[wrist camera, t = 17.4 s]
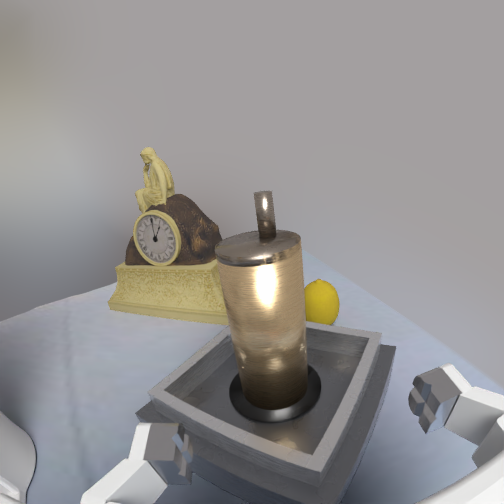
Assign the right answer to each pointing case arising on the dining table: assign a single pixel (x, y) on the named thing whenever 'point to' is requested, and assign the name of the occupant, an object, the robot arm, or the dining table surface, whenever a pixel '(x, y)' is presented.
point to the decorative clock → (170, 255)
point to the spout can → (266, 309)
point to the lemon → (321, 302)
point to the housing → (279, 418)
